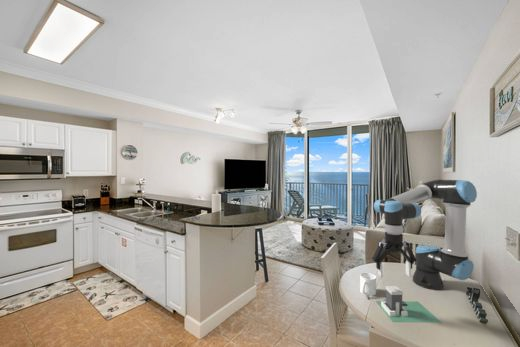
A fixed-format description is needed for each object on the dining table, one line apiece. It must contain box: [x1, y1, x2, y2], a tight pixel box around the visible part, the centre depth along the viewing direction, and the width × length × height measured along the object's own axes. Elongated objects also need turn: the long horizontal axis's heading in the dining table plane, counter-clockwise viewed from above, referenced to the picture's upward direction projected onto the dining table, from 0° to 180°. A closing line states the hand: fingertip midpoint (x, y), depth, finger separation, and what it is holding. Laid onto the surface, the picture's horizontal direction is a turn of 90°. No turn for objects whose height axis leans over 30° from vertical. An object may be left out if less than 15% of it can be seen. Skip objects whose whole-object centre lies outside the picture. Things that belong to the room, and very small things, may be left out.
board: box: [375, 298, 442, 323], centre depth 109 cm, size 22×16×3 cm
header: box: [380, 300, 408, 316], centre depth 109 cm, size 8×8×2 cm
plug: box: [385, 285, 404, 315], centre depth 109 cm, size 5×6×11 cm
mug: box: [359, 272, 377, 298], centre depth 125 cm, size 12×8×10 cm
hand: (394, 275), depth 109 cm, fingers open, 13 cm apart
